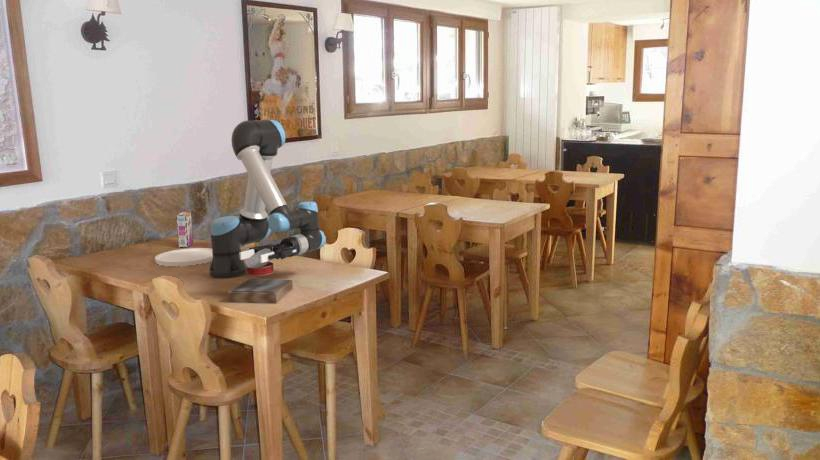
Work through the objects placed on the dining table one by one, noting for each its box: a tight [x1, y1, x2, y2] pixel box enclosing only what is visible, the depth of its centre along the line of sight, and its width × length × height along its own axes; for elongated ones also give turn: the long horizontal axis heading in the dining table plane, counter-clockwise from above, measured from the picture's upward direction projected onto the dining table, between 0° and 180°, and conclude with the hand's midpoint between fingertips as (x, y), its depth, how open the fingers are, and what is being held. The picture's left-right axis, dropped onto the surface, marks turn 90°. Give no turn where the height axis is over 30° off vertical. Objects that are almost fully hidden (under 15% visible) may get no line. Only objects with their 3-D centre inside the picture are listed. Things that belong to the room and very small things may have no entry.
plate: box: [154, 247, 213, 268], centre depth 314 cm, size 28×28×2 cm
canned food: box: [245, 248, 274, 277], centre depth 251 cm, size 11×10×10 cm
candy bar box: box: [176, 211, 194, 249], centre depth 342 cm, size 11×5×16 cm, turn 5°
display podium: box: [227, 278, 294, 304], centre depth 253 cm, size 18×18×4 cm
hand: (250, 257), depth 247 cm, fingers closed on canned food, 10 cm apart
